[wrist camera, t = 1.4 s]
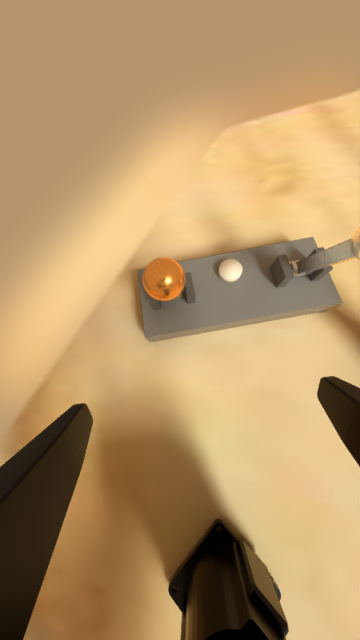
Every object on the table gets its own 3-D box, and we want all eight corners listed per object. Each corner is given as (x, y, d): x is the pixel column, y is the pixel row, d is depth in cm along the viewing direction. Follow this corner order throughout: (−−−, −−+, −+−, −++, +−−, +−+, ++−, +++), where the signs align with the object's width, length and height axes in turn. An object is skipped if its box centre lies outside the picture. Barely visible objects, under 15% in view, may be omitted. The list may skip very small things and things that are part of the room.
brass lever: (162, 306, 21) (142, 303, 11) (157, 282, 21) (134, 256, 11) (186, 302, 21) (189, 295, 11) (181, 277, 21) (181, 247, 10)
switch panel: (150, 342, 22) (139, 332, 18) (142, 280, 25) (131, 258, 20) (326, 310, 22) (360, 293, 17) (301, 250, 24) (325, 221, 20)
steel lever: (283, 284, 20) (382, 260, 10) (280, 259, 20) (376, 210, 10) (308, 279, 20) (431, 251, 10) (305, 255, 20) (425, 201, 10)
